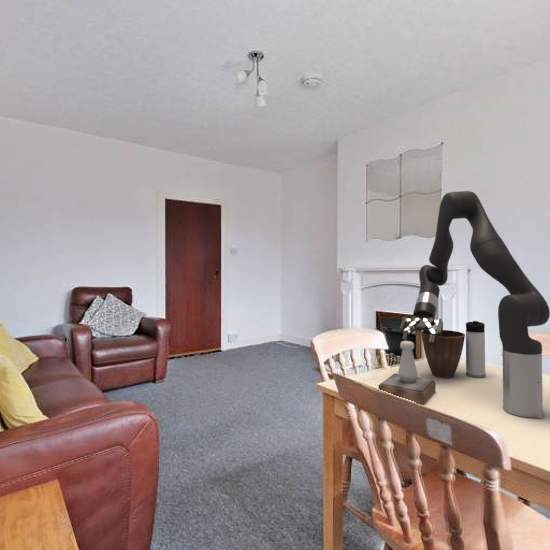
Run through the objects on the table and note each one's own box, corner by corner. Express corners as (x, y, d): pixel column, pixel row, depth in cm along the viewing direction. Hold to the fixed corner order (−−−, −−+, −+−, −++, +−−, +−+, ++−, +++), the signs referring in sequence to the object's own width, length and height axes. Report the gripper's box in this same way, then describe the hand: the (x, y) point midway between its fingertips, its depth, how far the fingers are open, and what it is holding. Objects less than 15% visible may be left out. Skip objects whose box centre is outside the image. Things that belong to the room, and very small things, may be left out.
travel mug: (485, 374, 139) (485, 321, 138) (484, 379, 133) (484, 324, 132) (467, 371, 142) (466, 320, 141) (465, 376, 136) (464, 322, 136)
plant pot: (452, 368, 146) (452, 329, 146) (473, 380, 131) (473, 336, 131) (415, 370, 146) (414, 330, 145) (432, 382, 131) (432, 337, 131)
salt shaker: (418, 384, 117) (417, 343, 117) (399, 383, 118) (398, 343, 118) (415, 378, 123) (414, 339, 122) (397, 377, 124) (396, 339, 124)
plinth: (435, 391, 121) (435, 379, 121) (423, 404, 110) (423, 391, 110) (393, 384, 130) (393, 372, 130) (378, 395, 119) (378, 383, 119)
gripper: (404, 300, 140) (394, 335, 131) (444, 301, 132) (437, 338, 123) (408, 312, 144) (399, 347, 136) (448, 314, 136) (441, 351, 127)
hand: (417, 343), depth 129 cm, fingers open, 8 cm apart
